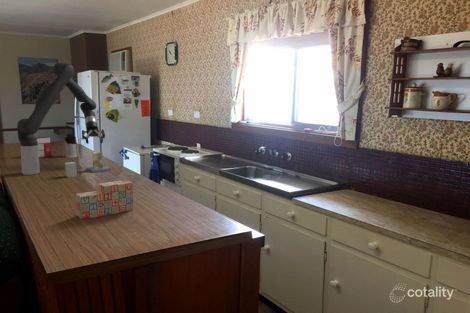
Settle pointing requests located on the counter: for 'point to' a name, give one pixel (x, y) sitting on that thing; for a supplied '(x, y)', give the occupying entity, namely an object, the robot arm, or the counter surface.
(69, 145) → the glass holder
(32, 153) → the robot arm
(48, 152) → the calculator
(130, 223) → the counter surface
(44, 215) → the counter surface
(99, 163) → the birch block
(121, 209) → the stack of blocks
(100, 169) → the slate board
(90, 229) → the counter surface
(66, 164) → the sage block
